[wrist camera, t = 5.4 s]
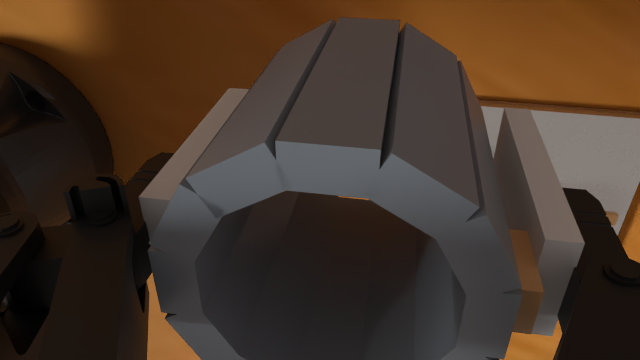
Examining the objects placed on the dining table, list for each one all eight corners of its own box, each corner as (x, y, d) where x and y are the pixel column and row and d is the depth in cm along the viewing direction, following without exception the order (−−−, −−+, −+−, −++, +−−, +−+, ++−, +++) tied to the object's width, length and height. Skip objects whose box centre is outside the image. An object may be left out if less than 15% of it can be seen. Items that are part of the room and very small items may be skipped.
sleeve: (261, 211, 20) (178, 390, 13) (247, 12, 16) (119, 127, 9) (476, 234, 19) (504, 443, 12) (520, 26, 15) (598, 168, 8)
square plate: (394, 265, 40) (390, 325, 35) (415, 94, 32) (413, 138, 27) (588, 289, 38) (613, 355, 33) (657, 113, 30) (703, 164, 25)
